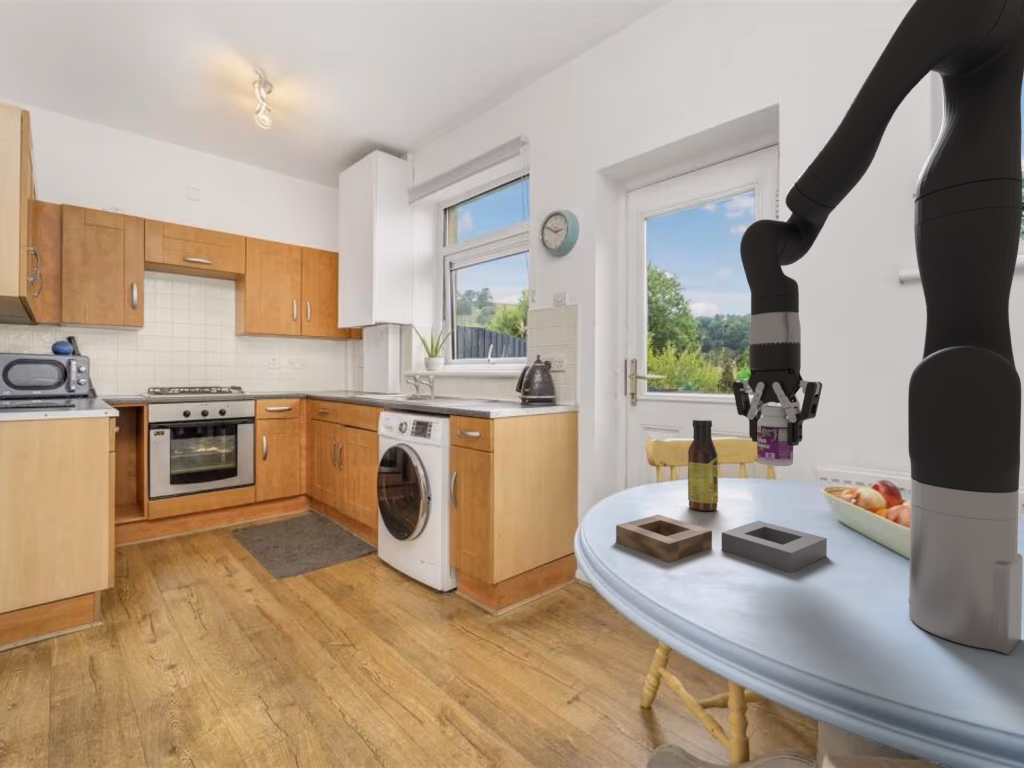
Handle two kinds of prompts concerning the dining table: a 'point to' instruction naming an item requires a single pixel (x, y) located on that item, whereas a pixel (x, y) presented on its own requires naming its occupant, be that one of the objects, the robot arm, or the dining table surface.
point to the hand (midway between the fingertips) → (774, 442)
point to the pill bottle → (773, 437)
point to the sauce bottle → (702, 468)
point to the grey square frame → (774, 545)
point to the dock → (664, 537)
